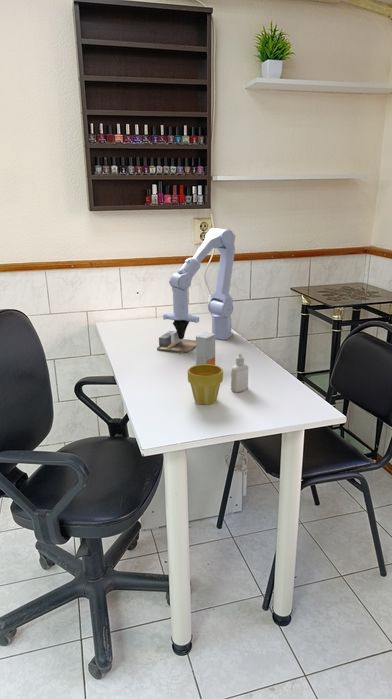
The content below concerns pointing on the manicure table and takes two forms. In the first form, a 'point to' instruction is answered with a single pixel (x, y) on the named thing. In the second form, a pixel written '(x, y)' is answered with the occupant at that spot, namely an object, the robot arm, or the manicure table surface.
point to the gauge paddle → (174, 338)
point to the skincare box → (205, 349)
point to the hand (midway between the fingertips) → (181, 338)
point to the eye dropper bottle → (239, 375)
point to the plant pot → (205, 382)
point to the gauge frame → (180, 347)
